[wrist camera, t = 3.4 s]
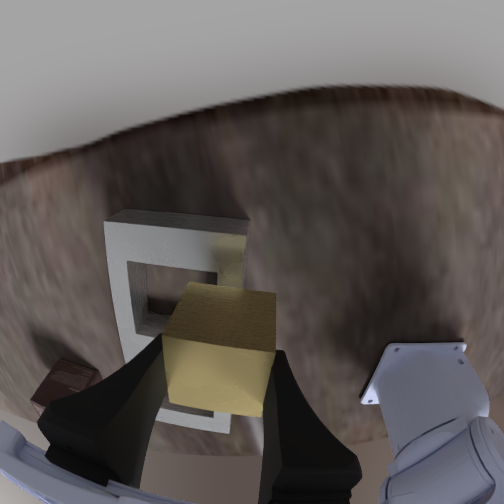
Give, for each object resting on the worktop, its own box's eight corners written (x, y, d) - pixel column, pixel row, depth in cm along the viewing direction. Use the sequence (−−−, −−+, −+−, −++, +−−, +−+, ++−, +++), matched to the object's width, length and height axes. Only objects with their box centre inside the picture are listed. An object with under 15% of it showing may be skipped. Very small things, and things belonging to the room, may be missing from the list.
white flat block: (250, 220, 19) (246, 235, 17) (232, 410, 27) (229, 433, 24) (124, 208, 20) (103, 221, 17) (149, 395, 27) (140, 416, 25)
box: (59, 356, 27) (27, 398, 20) (100, 370, 27) (71, 419, 20) (73, 390, 29) (48, 430, 23) (112, 403, 29) (90, 449, 23)
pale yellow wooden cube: (276, 293, 15) (275, 352, 11) (264, 356, 17) (260, 417, 13) (189, 281, 15) (161, 335, 11) (189, 346, 17) (169, 402, 13)
